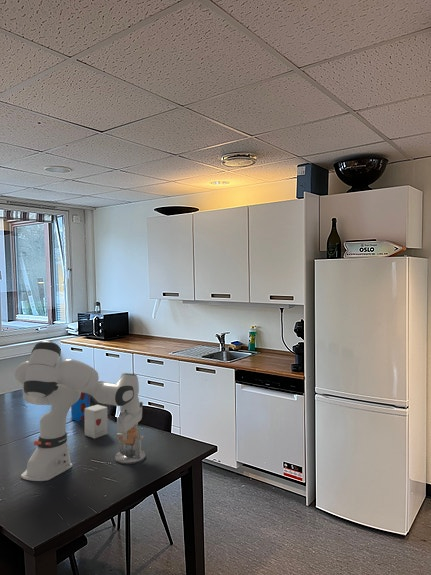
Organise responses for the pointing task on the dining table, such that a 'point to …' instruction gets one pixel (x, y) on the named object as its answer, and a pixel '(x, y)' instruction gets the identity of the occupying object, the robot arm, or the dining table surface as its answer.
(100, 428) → the supplement box
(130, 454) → the pronged peg stand
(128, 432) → the orange lumpy block
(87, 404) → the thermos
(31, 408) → the dining table surface
